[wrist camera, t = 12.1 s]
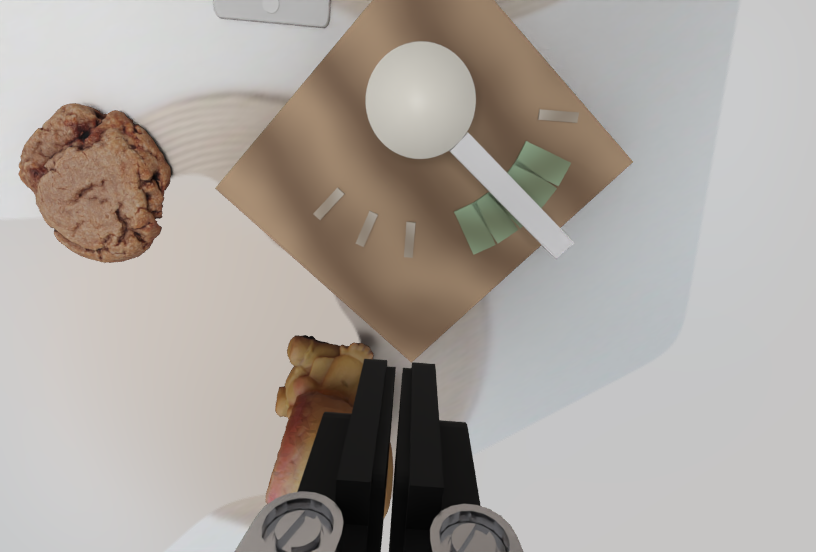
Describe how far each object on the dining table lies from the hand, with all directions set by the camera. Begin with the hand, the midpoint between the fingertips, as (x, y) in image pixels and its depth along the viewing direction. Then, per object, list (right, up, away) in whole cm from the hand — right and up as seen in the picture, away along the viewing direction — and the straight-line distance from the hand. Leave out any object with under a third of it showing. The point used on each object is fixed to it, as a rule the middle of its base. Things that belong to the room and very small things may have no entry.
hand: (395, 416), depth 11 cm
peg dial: (+4, +11, +18) cm, 21 cm away
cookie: (-21, +10, +22) cm, 32 cm away
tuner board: (+1, +10, +21) cm, 23 cm away
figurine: (-5, -5, +26) cm, 27 cm away
